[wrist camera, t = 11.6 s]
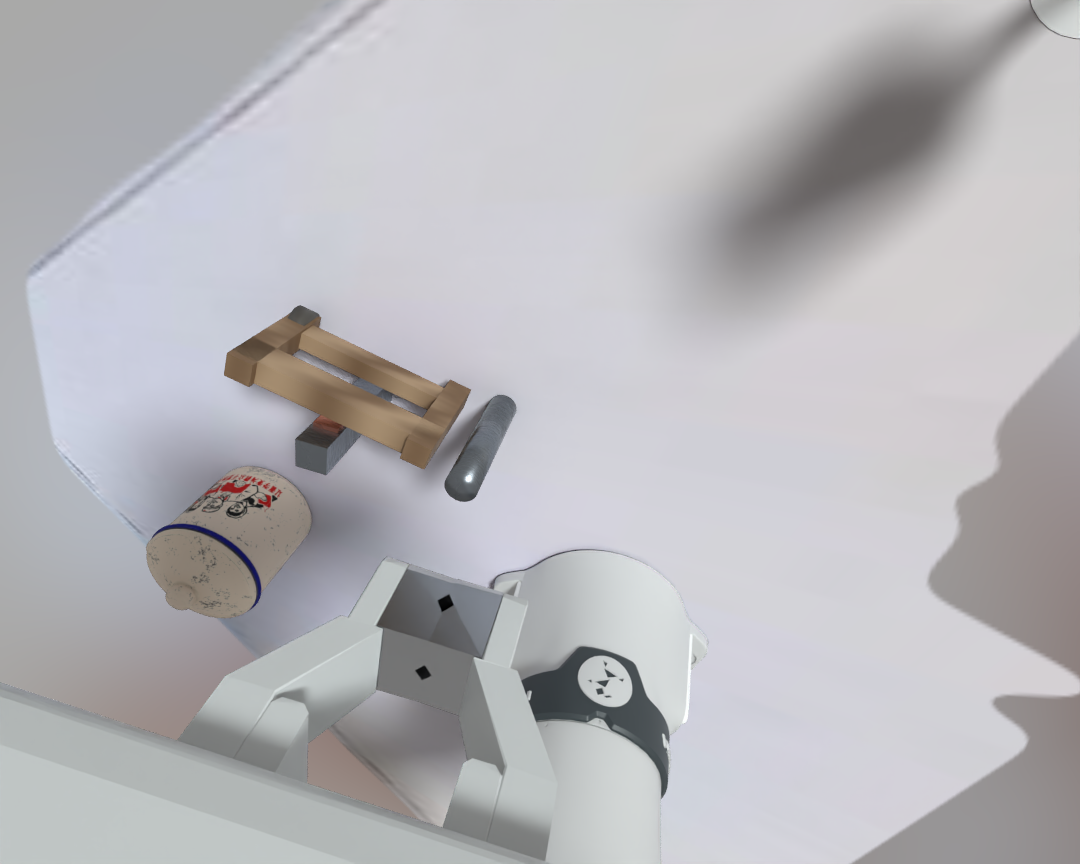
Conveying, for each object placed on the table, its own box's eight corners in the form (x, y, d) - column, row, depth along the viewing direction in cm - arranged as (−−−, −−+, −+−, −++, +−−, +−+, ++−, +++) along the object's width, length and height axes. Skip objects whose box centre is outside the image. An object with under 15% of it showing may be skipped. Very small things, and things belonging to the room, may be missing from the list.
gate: (475, 381, 43) (434, 443, 36) (463, 410, 44) (421, 475, 37) (304, 299, 42) (228, 346, 35) (297, 330, 43) (222, 381, 36)
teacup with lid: (296, 461, 50) (204, 556, 41) (328, 546, 55) (252, 650, 45) (175, 461, 53) (62, 550, 43) (215, 542, 58) (120, 639, 48)
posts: (510, 434, 45) (471, 519, 37) (366, 392, 46) (295, 465, 37) (518, 399, 43) (480, 479, 35) (369, 355, 44) (295, 423, 35)
